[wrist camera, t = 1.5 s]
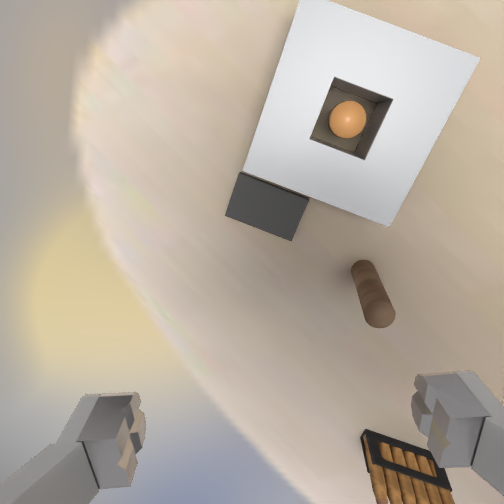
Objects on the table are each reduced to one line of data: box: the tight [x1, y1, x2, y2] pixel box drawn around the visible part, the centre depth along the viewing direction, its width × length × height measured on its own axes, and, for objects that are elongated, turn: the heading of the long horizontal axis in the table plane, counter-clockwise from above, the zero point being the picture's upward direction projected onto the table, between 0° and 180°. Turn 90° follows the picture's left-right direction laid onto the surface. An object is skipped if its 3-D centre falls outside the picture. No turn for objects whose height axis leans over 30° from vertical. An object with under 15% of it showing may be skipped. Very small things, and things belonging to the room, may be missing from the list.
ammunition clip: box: [360, 429, 455, 504], centre depth 43 cm, size 11×2×12 cm, turn 73°
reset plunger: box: [328, 101, 366, 138], centre depth 31 cm, size 3×3×2 cm
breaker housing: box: [243, 0, 480, 227], centre depth 32 cm, size 14×14×7 cm
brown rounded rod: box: [352, 260, 395, 328], centre depth 35 cm, size 3×3×10 cm
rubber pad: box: [225, 172, 309, 241], centre depth 39 cm, size 8×5×1 cm, turn 70°
